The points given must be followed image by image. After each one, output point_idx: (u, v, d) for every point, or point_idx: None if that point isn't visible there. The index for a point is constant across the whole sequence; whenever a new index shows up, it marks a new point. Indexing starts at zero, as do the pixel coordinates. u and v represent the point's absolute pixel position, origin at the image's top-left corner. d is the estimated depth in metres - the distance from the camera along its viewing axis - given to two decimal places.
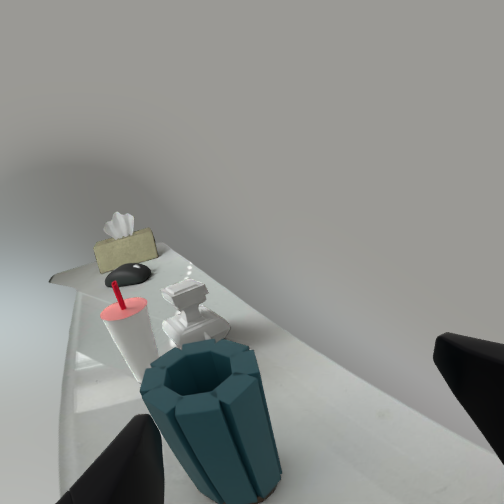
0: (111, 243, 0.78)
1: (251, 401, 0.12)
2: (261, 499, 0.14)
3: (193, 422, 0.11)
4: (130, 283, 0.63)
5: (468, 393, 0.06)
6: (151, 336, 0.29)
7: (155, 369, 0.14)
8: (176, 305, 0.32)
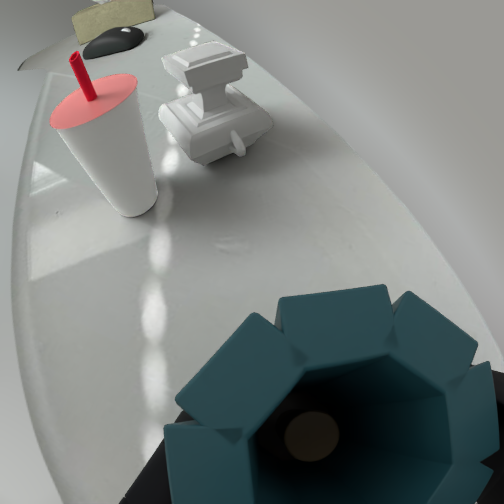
0: (95, 9, 0.39)
1: None
2: None
3: None
4: (116, 51, 0.37)
5: None
6: (141, 142, 0.15)
7: (205, 440, 0.04)
8: (190, 85, 0.15)
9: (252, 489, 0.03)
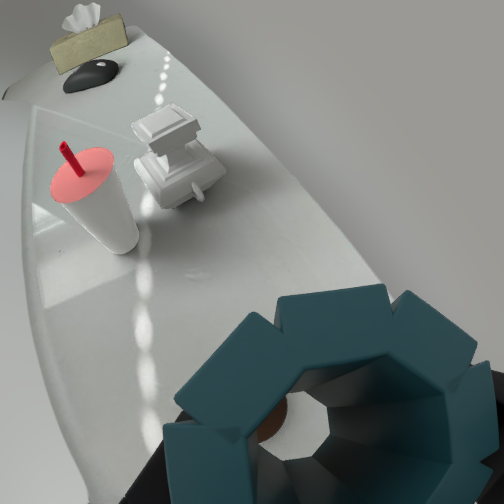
0: (71, 39, 0.44)
1: None
2: None
3: None
4: (93, 85, 0.42)
5: None
6: (122, 202, 0.21)
7: (204, 440, 0.04)
8: (155, 152, 0.21)
9: (251, 488, 0.03)
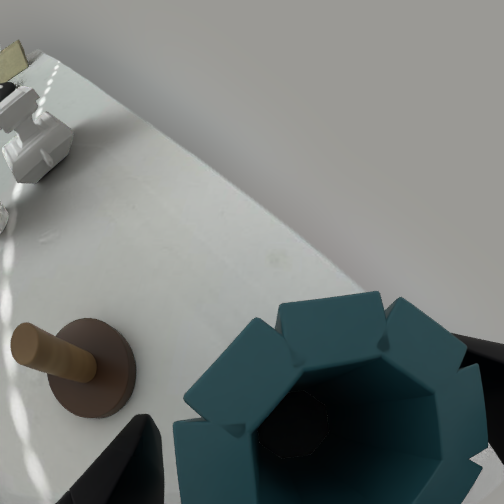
0: None
1: None
2: (119, 407, 0.12)
3: None
4: None
5: None
6: None
7: (211, 435, 0.04)
8: (0, 128, 0.15)
9: (255, 481, 0.04)
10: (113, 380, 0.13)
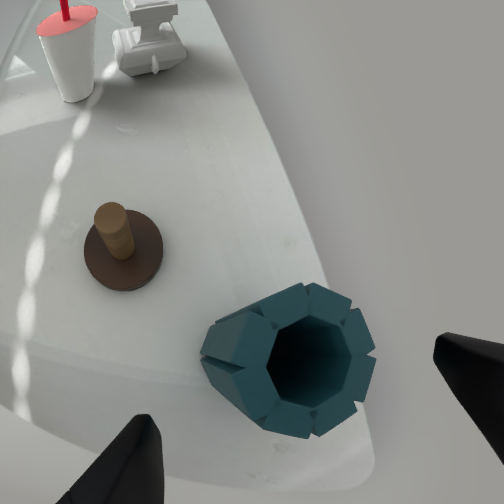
0: None
1: None
2: (135, 288, 0.19)
3: None
4: None
5: (468, 393, 0.06)
6: (89, 52, 0.17)
7: (263, 323, 0.10)
8: (132, 20, 0.18)
9: (270, 352, 0.10)
10: (142, 267, 0.19)
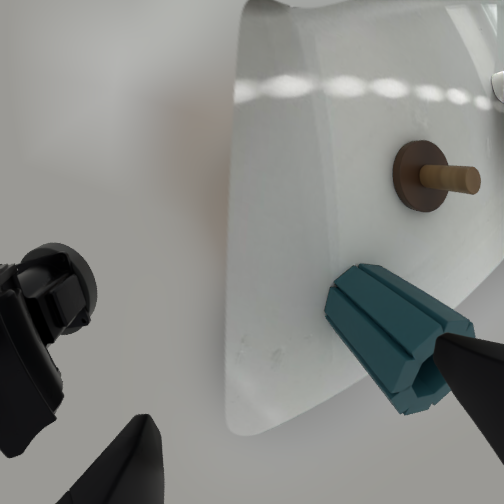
0: None
1: (389, 399, 0.14)
2: (400, 194, 0.20)
3: (394, 366, 0.12)
4: None
5: (468, 393, 0.06)
6: None
7: (463, 331, 0.12)
8: None
9: None
10: (417, 198, 0.20)
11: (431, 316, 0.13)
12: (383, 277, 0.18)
